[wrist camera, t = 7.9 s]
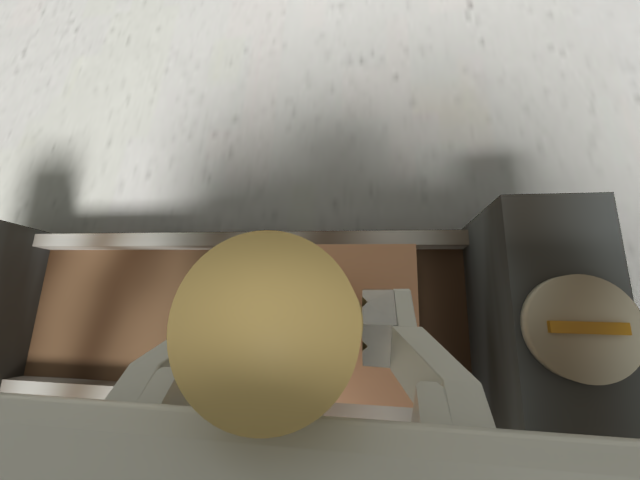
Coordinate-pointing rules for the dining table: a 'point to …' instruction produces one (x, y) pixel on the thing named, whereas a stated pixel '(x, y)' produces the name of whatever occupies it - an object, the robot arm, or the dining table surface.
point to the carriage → (282, 330)
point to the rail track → (433, 297)
